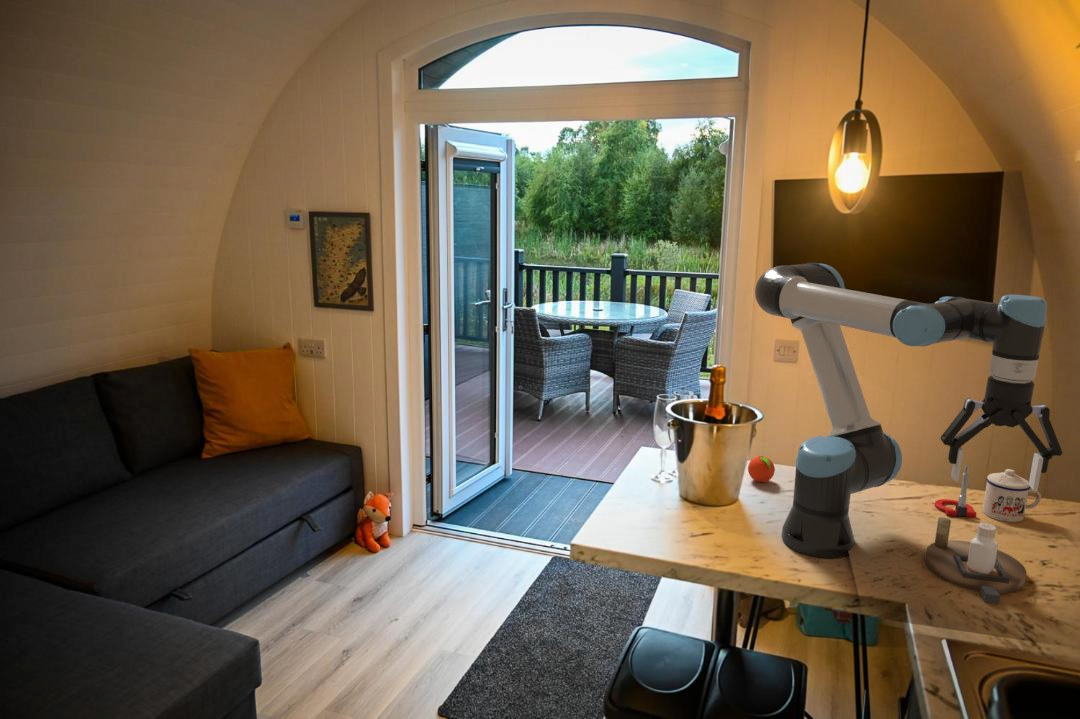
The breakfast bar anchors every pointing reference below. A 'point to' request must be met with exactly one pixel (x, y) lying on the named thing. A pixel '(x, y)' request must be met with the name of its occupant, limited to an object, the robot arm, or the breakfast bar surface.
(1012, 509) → the teacup with lid
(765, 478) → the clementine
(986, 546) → the pepper shaker
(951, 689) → the breakfast bar surface
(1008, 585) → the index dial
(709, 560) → the breakfast bar surface
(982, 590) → the charcoal grey block
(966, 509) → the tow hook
